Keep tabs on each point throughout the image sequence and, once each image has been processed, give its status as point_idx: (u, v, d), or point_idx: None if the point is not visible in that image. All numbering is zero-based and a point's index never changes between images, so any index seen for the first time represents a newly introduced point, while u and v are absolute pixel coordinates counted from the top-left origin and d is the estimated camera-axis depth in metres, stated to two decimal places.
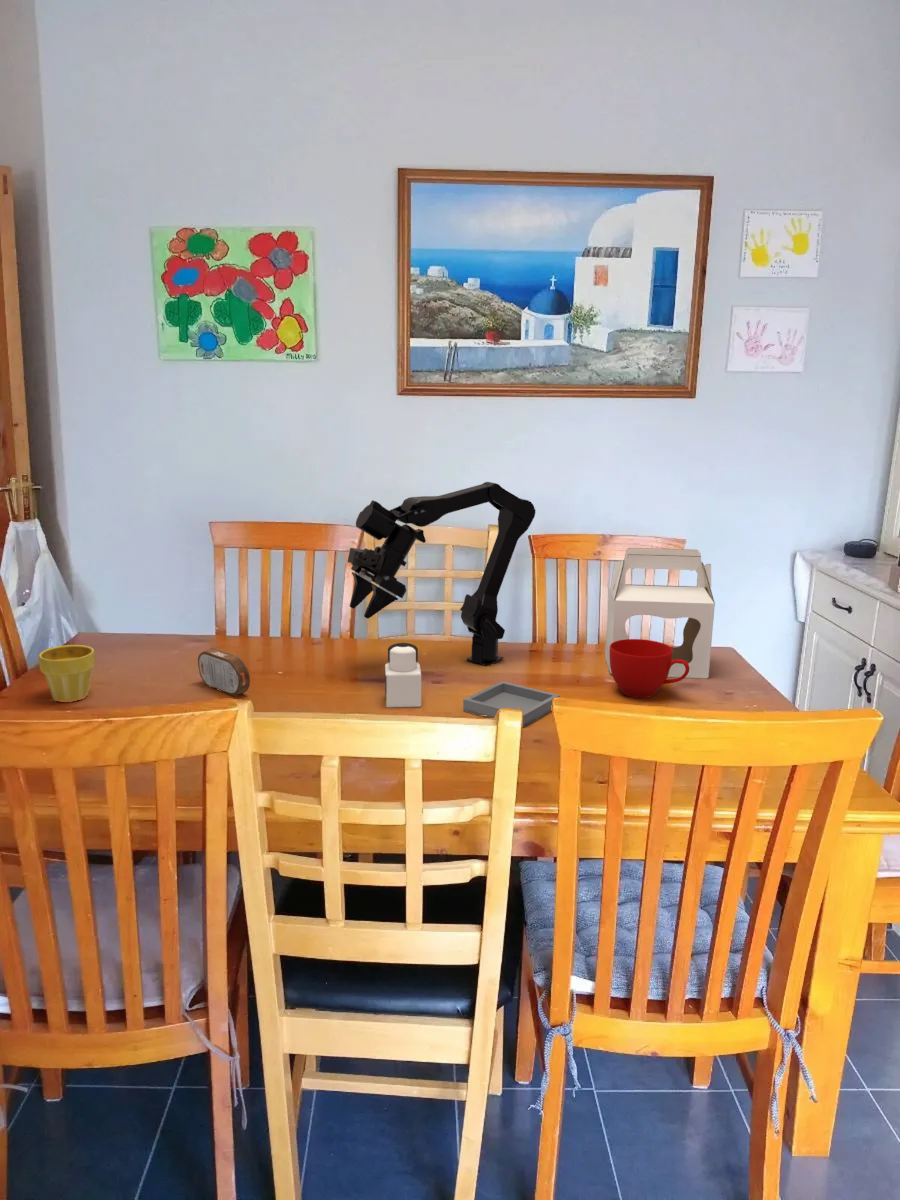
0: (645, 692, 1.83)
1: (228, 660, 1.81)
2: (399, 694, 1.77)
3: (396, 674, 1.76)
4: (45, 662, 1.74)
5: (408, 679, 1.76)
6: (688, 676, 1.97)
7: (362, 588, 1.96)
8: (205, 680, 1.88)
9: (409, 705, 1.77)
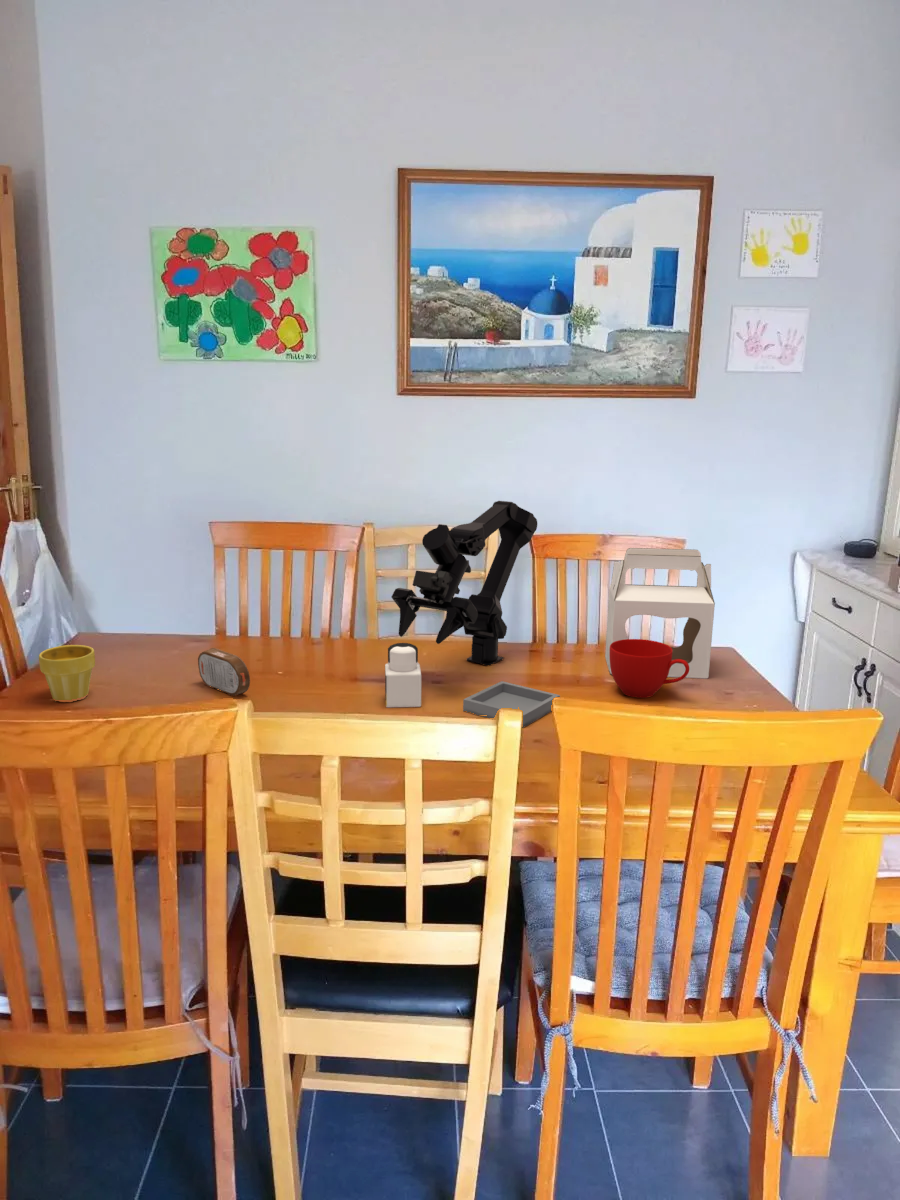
0: (645, 692, 1.83)
1: (228, 660, 1.81)
2: (399, 694, 1.77)
3: (396, 674, 1.76)
4: (45, 662, 1.74)
5: (408, 679, 1.76)
6: (688, 676, 1.97)
7: (408, 616, 1.86)
8: (205, 680, 1.88)
9: (409, 705, 1.77)
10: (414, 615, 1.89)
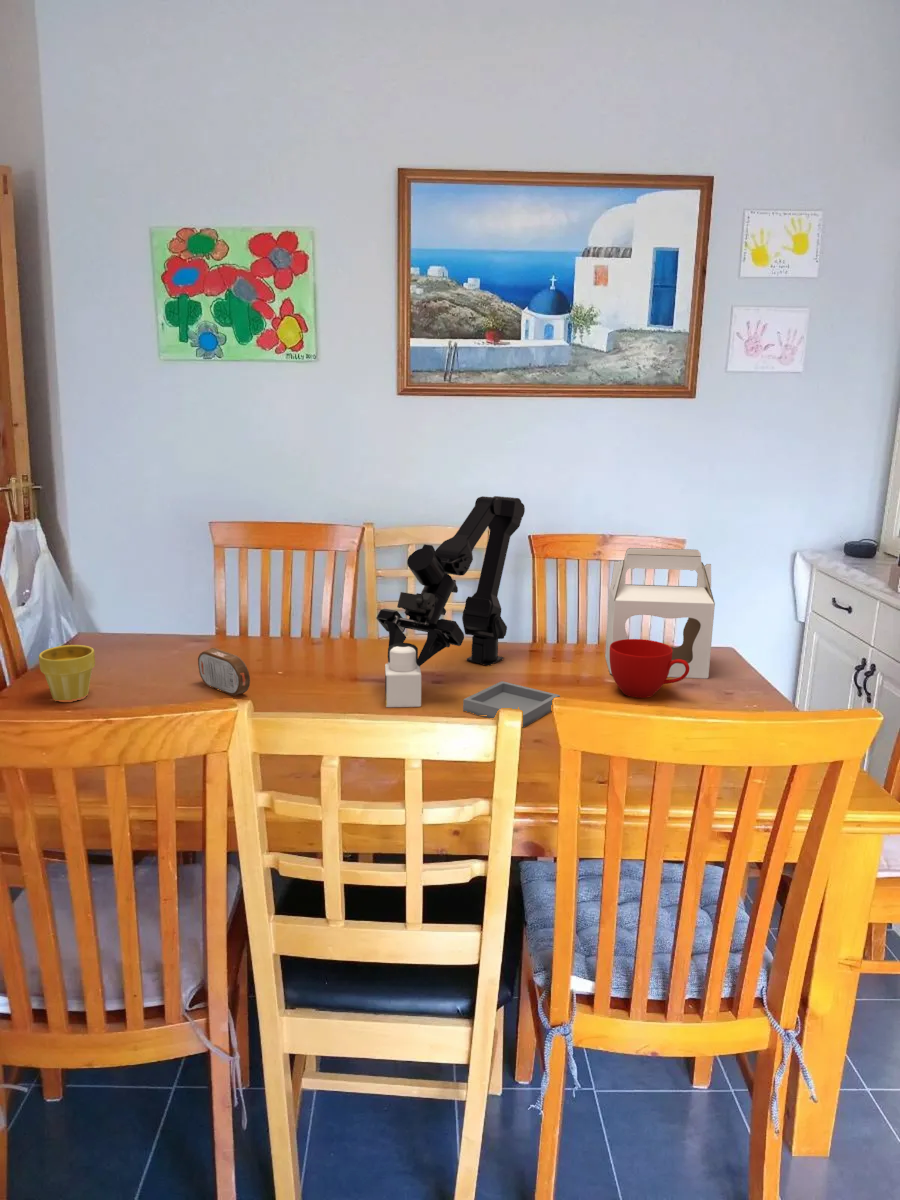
0: (645, 692, 1.83)
1: (228, 660, 1.81)
2: (399, 694, 1.77)
3: (396, 674, 1.76)
4: (45, 662, 1.74)
5: (408, 679, 1.76)
6: (688, 676, 1.97)
7: (398, 638, 1.82)
8: (205, 680, 1.88)
9: (409, 705, 1.77)
10: (404, 637, 1.84)
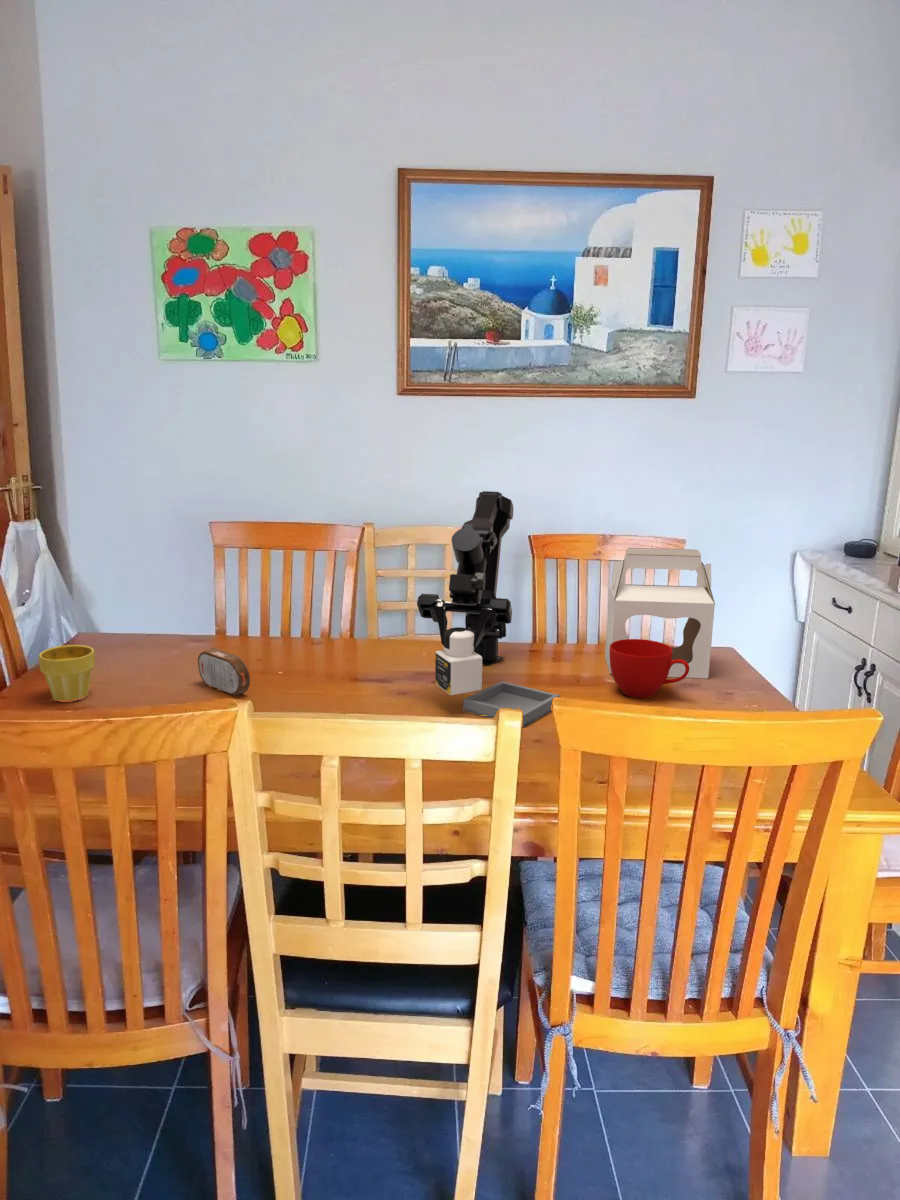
0: (645, 692, 1.83)
1: (228, 660, 1.81)
2: (462, 680, 1.72)
3: (459, 659, 1.71)
4: (45, 662, 1.74)
5: (471, 663, 1.72)
6: (688, 676, 1.97)
7: (445, 623, 1.77)
8: (205, 680, 1.88)
9: (471, 690, 1.74)
10: (446, 621, 1.79)
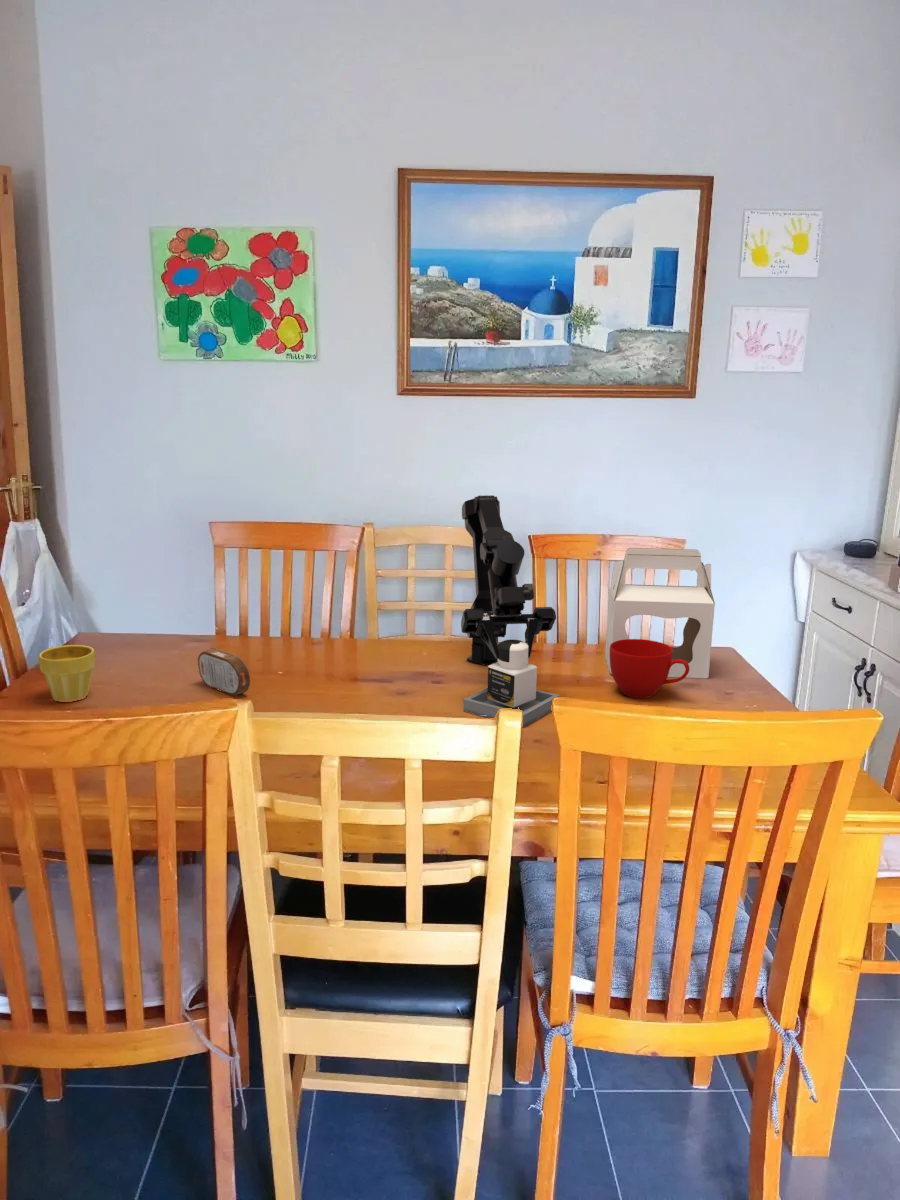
0: (645, 692, 1.83)
1: (228, 660, 1.81)
2: (522, 691, 1.74)
3: (521, 671, 1.72)
4: (45, 662, 1.74)
5: (529, 674, 1.74)
6: (688, 676, 1.97)
7: None
8: (205, 680, 1.88)
9: (528, 700, 1.76)
10: None
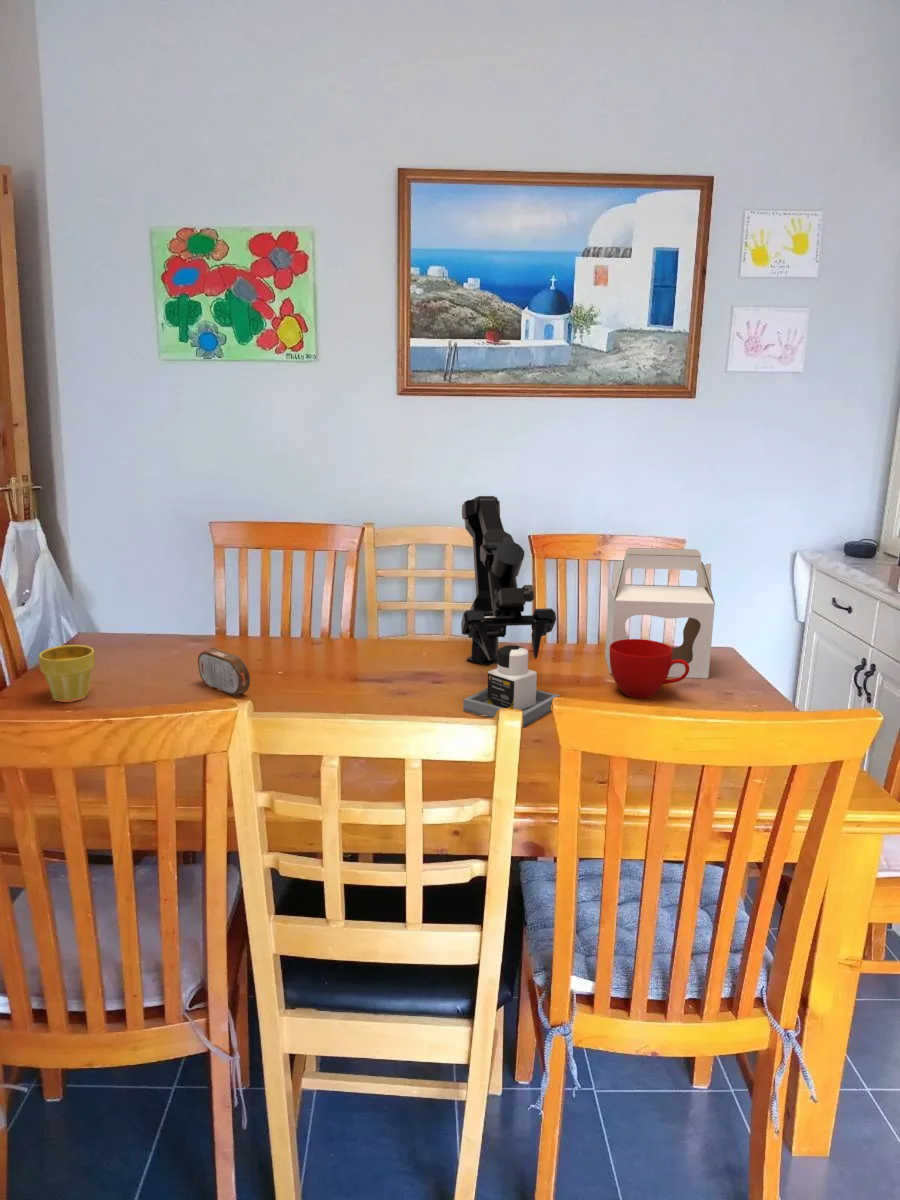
0: (645, 692, 1.83)
1: (228, 660, 1.81)
2: (522, 697, 1.74)
3: (520, 677, 1.73)
4: (45, 662, 1.74)
5: (529, 680, 1.74)
6: (688, 676, 1.97)
7: None
8: (205, 680, 1.88)
9: (528, 706, 1.76)
10: None
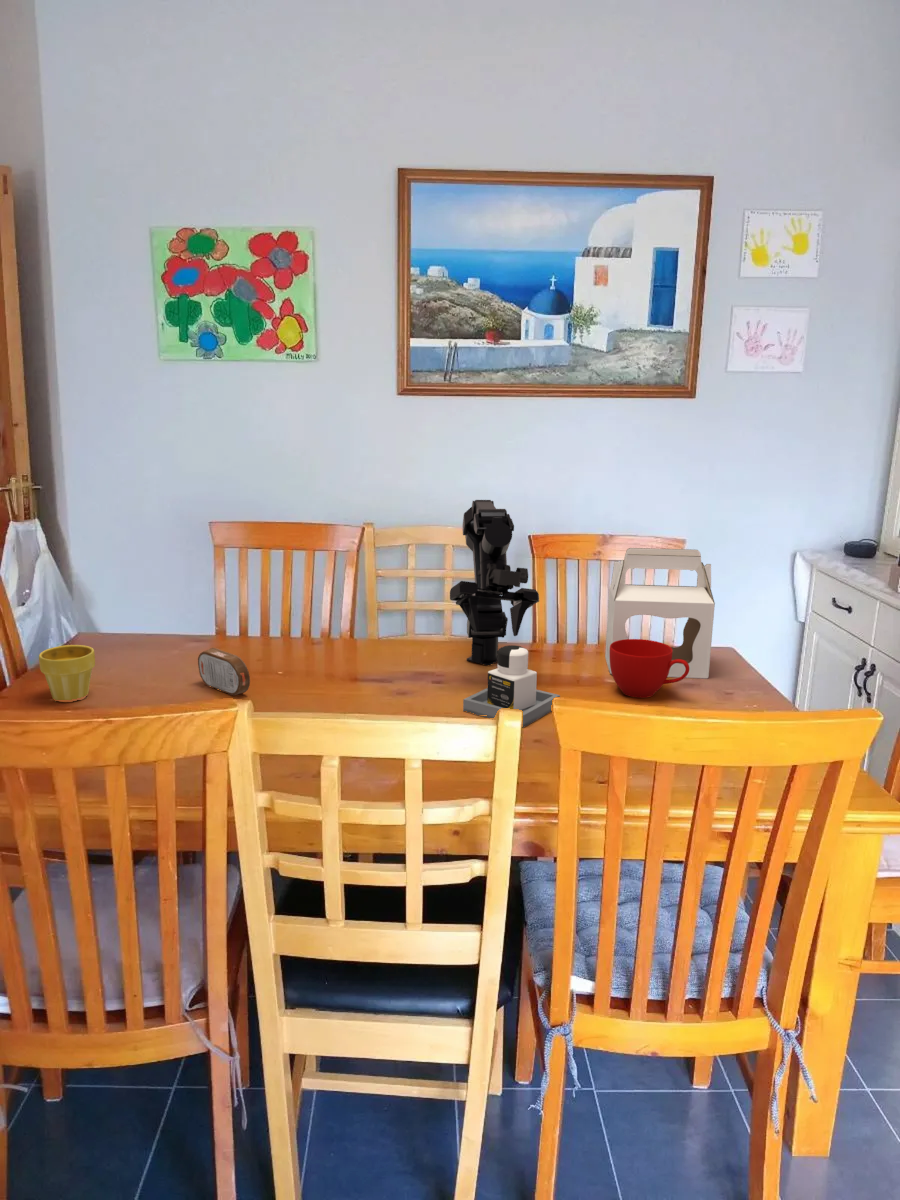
0: (645, 692, 1.83)
1: (228, 660, 1.81)
2: (522, 697, 1.74)
3: (520, 677, 1.73)
4: (45, 662, 1.74)
5: (529, 680, 1.75)
6: (688, 676, 1.97)
7: None
8: (205, 680, 1.88)
9: (528, 706, 1.76)
10: None
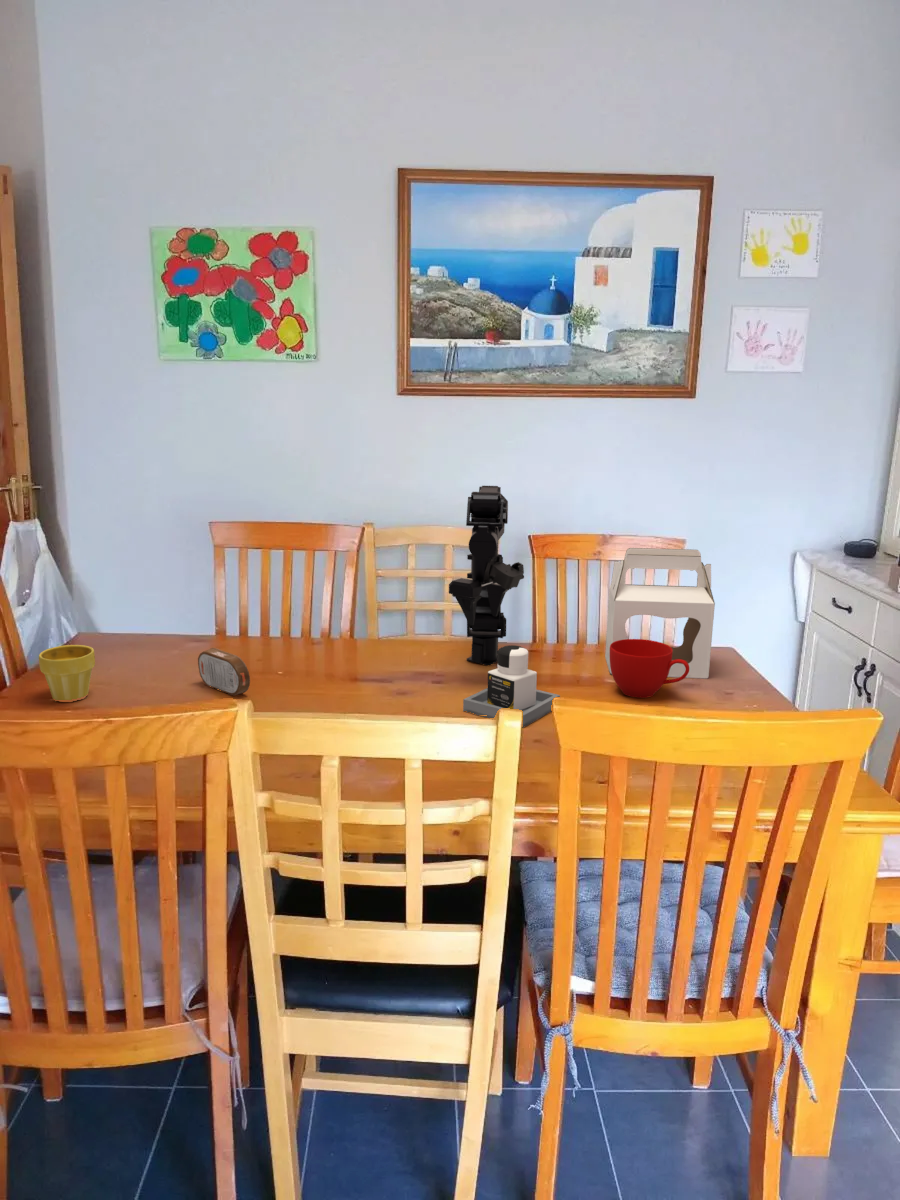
0: (645, 692, 1.83)
1: (228, 660, 1.81)
2: (522, 697, 1.74)
3: (520, 677, 1.73)
4: (45, 662, 1.74)
5: (529, 680, 1.74)
6: (688, 676, 1.97)
7: None
8: (205, 680, 1.88)
9: (528, 706, 1.76)
10: None
